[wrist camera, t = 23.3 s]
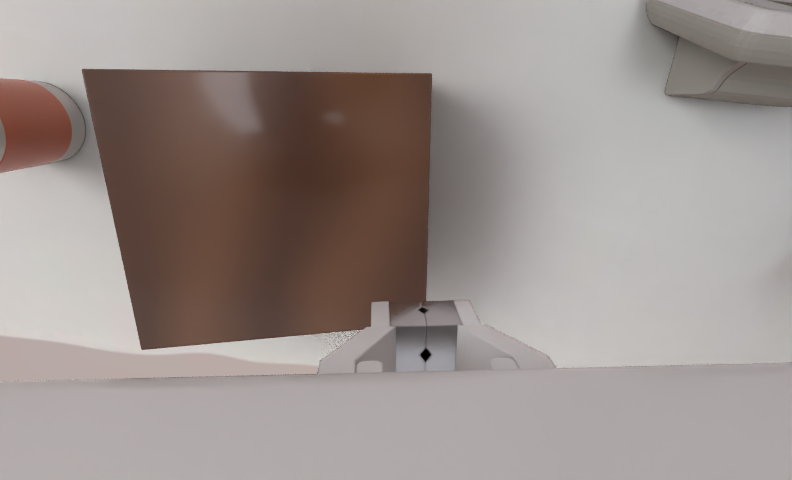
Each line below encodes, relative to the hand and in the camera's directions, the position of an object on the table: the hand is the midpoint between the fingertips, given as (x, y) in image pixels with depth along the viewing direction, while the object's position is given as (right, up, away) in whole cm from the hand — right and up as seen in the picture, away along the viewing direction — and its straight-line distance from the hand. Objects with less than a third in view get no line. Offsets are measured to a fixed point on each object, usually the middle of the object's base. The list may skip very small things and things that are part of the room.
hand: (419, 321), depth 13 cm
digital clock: (+24, +17, +18) cm, 35 cm away
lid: (-8, +4, +12) cm, 15 cm away
